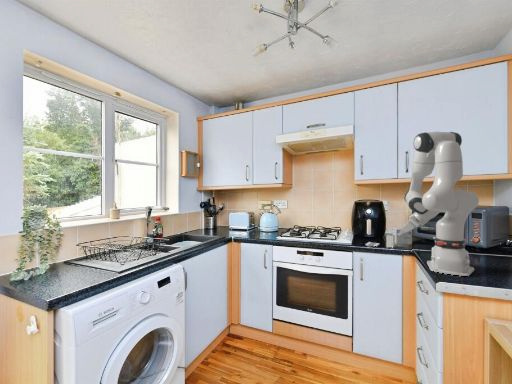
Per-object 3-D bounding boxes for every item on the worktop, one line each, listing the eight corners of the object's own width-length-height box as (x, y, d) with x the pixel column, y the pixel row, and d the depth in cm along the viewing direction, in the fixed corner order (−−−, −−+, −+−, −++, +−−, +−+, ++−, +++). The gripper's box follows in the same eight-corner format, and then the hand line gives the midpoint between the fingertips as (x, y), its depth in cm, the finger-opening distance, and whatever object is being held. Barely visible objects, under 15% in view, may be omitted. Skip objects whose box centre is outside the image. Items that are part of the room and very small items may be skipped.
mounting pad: (376, 246, 168) (376, 245, 168) (365, 245, 172) (365, 244, 172) (379, 244, 174) (379, 243, 174) (369, 242, 179) (368, 242, 179)
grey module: (393, 248, 163) (393, 235, 163) (386, 247, 165) (386, 235, 165) (394, 246, 166) (394, 234, 166) (388, 246, 169) (388, 234, 169)
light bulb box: (407, 242, 179) (407, 227, 179) (412, 244, 173) (412, 229, 172) (392, 242, 180) (392, 227, 180) (396, 244, 174) (396, 229, 173)
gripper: (415, 214, 165) (398, 227, 172) (410, 218, 150) (392, 232, 156) (423, 222, 163) (406, 234, 169) (419, 226, 147) (400, 240, 154)
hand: (399, 233), depth 163 cm, fingers open, 8 cm apart
